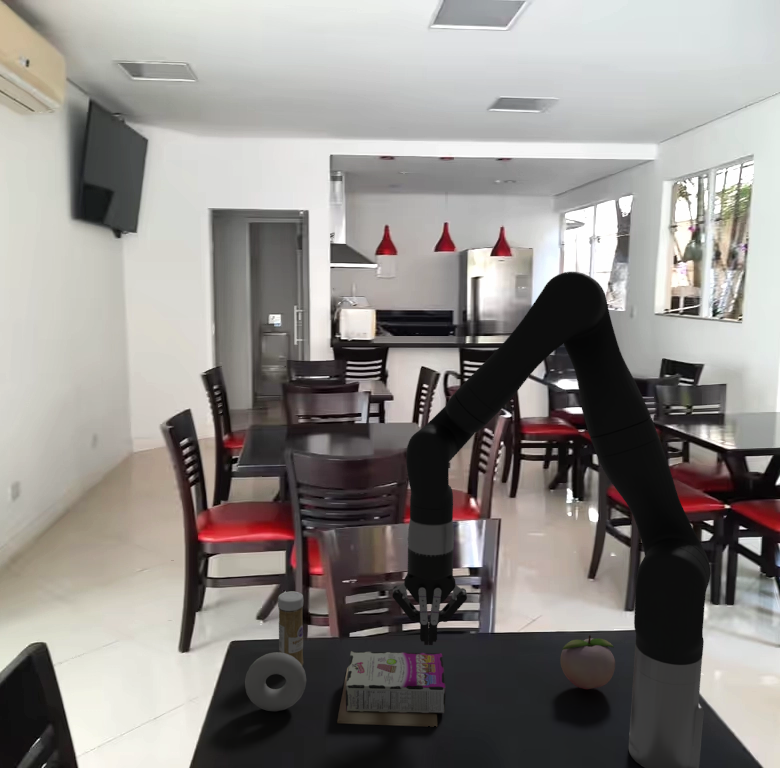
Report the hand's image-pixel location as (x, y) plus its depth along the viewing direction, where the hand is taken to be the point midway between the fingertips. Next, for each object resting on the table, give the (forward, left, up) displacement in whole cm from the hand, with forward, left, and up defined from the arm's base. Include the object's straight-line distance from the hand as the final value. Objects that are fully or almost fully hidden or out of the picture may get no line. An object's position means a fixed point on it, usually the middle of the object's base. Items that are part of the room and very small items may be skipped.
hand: (428, 642), depth 121 cm
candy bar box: (-3, 0, -7) cm, 8 cm away
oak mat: (+6, 0, -10) cm, 12 cm away
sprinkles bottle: (+25, -9, -10) cm, 28 cm away
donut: (+25, +5, -10) cm, 27 cm away
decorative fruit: (-28, -4, -10) cm, 30 cm away
